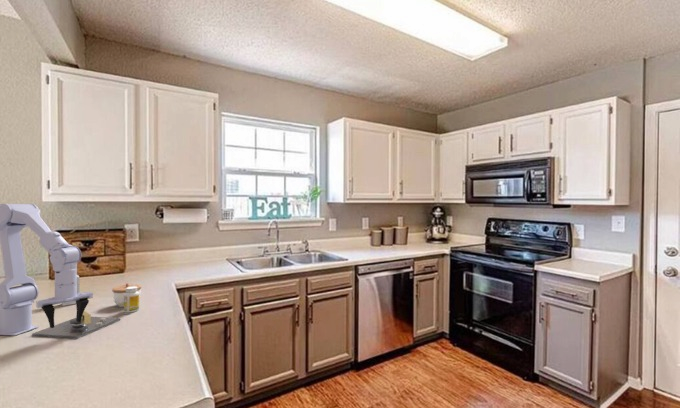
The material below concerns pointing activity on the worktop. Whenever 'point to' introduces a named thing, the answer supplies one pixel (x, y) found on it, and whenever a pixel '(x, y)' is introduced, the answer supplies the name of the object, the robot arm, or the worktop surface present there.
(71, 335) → the base plate
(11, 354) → the worktop surface
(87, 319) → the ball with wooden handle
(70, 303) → the skincare box
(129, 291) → the supplement bottle
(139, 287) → the lidded jar
